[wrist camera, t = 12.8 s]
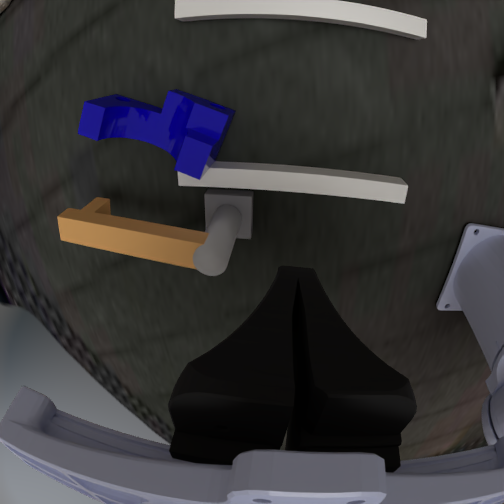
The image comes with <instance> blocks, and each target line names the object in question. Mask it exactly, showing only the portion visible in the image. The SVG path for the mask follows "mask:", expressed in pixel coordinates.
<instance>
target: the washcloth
mask: <svg viewBox="0 0 504 504" xmlns="http://www.w3.org/2000/svg"><path fill="white" fill-rule="evenodd" d="M11 1H12V0H0V13H1V12H2V11H3V10H4V9H6V8H7V6H8V5H9V4H10V2H11Z"/></svg>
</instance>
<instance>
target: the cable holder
mask: <svg viewBox="0 0 504 504" xmlns="http://www.w3.org/2000/svg"><path fill="white" fill-rule="evenodd" d="M234 114H235V110H232V109H230V108H227V107H225V106H222V105H219V104H217V103H214V102H211V101H208V100H206V99H203V98H200V97H197V96H194V95H192V94H189V93H186V92H183V91H180V90H177V89H175V90H170V91H168V94H167V97H166V100H165V103H164V106H163V109H161V108H159V107H156V106H153V105H150V104H146V103H143V102H140V101H137V100H134V99H131V98H128V97H124V96H121V95H118V94H115V95H110V96H106V97H101V98H97V99H93V100H89V101H85V102H84V106H83V111H82V115H81V120H80V124H79V129H78V134H80V135H83V136H85V137H88V138H91V139H94V140H97V141H98V140H101V139H105V138H113V137H122V138H131V139H137V140H141V141H145V142H148V143H151V144H154V145H156V146H158V147H160V148H162V149H164V150H166V151H167V152H168V153H170V154H171V155H172V156H173V157H174V158H175V160H176V162H177V163H176V166H175V169H174V170H176V171H178V172H181V173H183V174H186V175H188V176H191V177H193V178H196V179H198V180H200V179H201V178H202V177H203V176H204V174H205V173H206V172H207V171H208V169H209V168H210V167H211V166H212V164H213V163H214V162H215V161H216V158H217V156H218V153H219V151H220V148H221V146H222V143H223V141H224V138H225V136H226V133H227V131H228V128H229V126H230V123H231V121H232V119H233V116H234Z"/></svg>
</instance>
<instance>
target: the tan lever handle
mask: <svg viewBox="0 0 504 504" xmlns="http://www.w3.org/2000/svg"><path fill="white" fill-rule="evenodd" d="M57 218H58V225H59V231H60V237H61V240H63V241H68V242H72V243H76V244H81V245H85V246H90V247H94V248H98V249H103V250H108V251H112V252H117V253H121V254H126V255H131V256H135V257H140V258H145V259H149V260H154V261H159V262H164V263H169V264H173V265H178V266H183V267H188V268H193V269H197V270H198V271H200V272H201V273H203V274H205V275H209V276H216V275H220V274H221V273H223V272H224V271H225V270H226V268H227V265H228V261H229V258H230V255H231V252H232V249H233V246H234V243H235V239H236V236H237V233H238V230H239V227H240V224H241V220H242V217H241V213H240V212H239V210H238V209H237V208H235V207H234V206H231V205H222V206H220V207H218V208H217V209H216V211H215V213H214V215H213V217H212V218H211V220H210V222H209V224H208V226H207V228H206V230H205V232H201V231H196V230H190V229H185V228H179V227H174V226H168V225H162V224H157V223H151V222H146V221H140V220H135V219H129V218H123V217H118V216H112V215H111V212H110V199H107V198H100V197H96V198H95V199H94V200H93V201H91V202H90V203H89V204H88V205H86V206H85V207H84V208H83V209H81V210H78V209H72V208H67V209H66V210H65V211H64V212H62V213H61V214H60V215H59V216H57Z"/></svg>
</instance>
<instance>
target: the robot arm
mask: <svg viewBox="0 0 504 504" xmlns="http://www.w3.org/2000/svg"><path fill="white" fill-rule="evenodd" d="M476 229H477V231H476V232H475V233H474V231H475V230H476ZM447 304H448V305H447ZM445 305H446V306H445ZM436 306H437V309H438V310H449V311H463V312H464V314H465V316H466V318H467V320H468V322H469V324H470V326H471V328H472V330H473V332H474V334H475V336H476V338H477V341H478V343H479V345H480V347H481V349H482V351H483V354H484V356H485V358H486V360H487V363H488V365H489V367H490V370H491V372H492V373H491V375H490V376H489V378H488V379H487V380H486V384H487V387H488V389H489V392H490V394H489V395H488V396H487V397H486V399H485V401H484V403H483V406H482V426H483V432H484V435H485V438H486V441H487V443H488V445H489V446H486V447H482V448H477V449H473V450H468V451H463V452H458V453H453V454H447V455H442V456H435V457H429V458H421V459H413V460H404V461H400V455H399V447H398V446H400V445H401V442H402V440H401V432H402V430H403V429H404V428H405V427H406V426H407V424H408V423H409V422H410V421H411V420H412V418H413V417H414V415H415V413H416V409H417V405H416V401H415V396H414V393H413V390H412V387H411V385H410V382H409V379H408V378H406V377H405V376H403V375H402V374H400V373H399V372H397V371H396V370H394V369H393V368H391V367H390V366H389V365H387V364H386V363H385V362H383V361H382V360H381V359H380V358H379V357H377V356H376V355H375V354H374V353H373V352H372V351H370V350H369V349H368V348H367V347H366V346H365V345H364V344H363V343H362V342H361V341H360V340H359V339H358V338H357V337H356V336H355V335H354V333H353V332H352V331H351V330H350V329H349V327H348V326H347V325H346V323H345V322H344V321H343V319H342V318H341V317H340V315H339V314H338V312H337V311H336V309H335V308H334V306H333V305H332V303H331V301H330V300H329V298H328V296H327V295H326V293H325V291H324V289H323V287H322V285H321V283H320V281H319V279H318V277H317V275H316V273H315V271H314V270H313V269H311V268H301V267H291V266H280V267H279V268H278V272H277V275H276V278H275V280H274V282H273V284H272V285H271V287H270V289H269V290H268V292H267V294H266V295H265V297H264V298H263V300H262V301H261V302H260V304H259V305H258V306H257V308H256V309H255V310H254V312H253V313H252V314H251V315H250V316H249V317H248V318H247V319H246V321H245V322H244V323H243V324H242V325H241V326H240V327H239V328H237V329H236V330H235V331H234V332H233V333H232V334H231V335H230V336H229V337H227V338H226V339H225V340H223V341H222V342H221V343H219V344H218V345H217V346H215V347H214V348H213V349H211V350H210V351H208V352H207V353H205V354H203V355H201V356H200V357H198V358H196V359H195V360H193V361H191V362H189V363H188V364H187V366H186V367H185V369H184V370H183V372H182V373H181V375H180V377H179V379H178V381H177V383H176V384H175V387H174V389H173V392H172V395H171V398H170V401H169V404H168V407H169V412H170V415H171V418H172V421H173V424H174V427H175V432H174V435H173V439H172V442H171V445H166V444H162V443H158V442H154V441H150V440H146V439H143V438H139V437H135V436H132V435H128V434H125V433H122V432H118V431H115V430H112V429H109V428H106V427H103V426H100V425H97V424H94V423H92V422H89V421H86V420H83V419H81V418H78V417H75V416H72V415H70V414H68V413H65V412H63V411H60V410H58V409H56V407H55V405H54V403H53V402H52V401H51V400H50V399H49V398H48V397H47V396H45V395H43V394H41V393H39V392H37V391H35V390H32V389H30V388H28V387H26V386H22V387H21V388H20V390H19V392H18V394H17V395H16V397H15V398H14V400H13V402H12V403H11V405H10V407H9V409H8V410H7V412H6V414H5V416H4V417H3V419H2V421H1V423H0V442H1V443H3V445H5V446H6V447H7V448H8V449H9V450H10V451H12V453H14V454H15V455H16V456H17V457H19V458H20V459H21V460H22V461H23V462H24V463H26V464H27V465H28V466H30V467H32V468H34V469H36V470H37V471H39V472H41V473H43V474H44V475H46V476H48V477H50V478H52V479H54V480H56V481H58V482H60V483H62V484H64V485H66V486H67V487H69V488H71V489H74V490H76V491H78V492H80V493H82V494H84V495H86V496H88V497H91V498H93V499H95V500H98V501H100V502H102V503H104V504H501V503H503V502H504V228H498V227H492V226H486V225H480V224H473V223H469V224H467V225H466V227H465V229H464V232H463V235H462V238H461V241H460V244H459V247H458V250H457V253H456V255H455V258H454V261H453V264H452V266H451V269H450V272H449V274H448V277H447V279H446V282H445V284H444V287H443V289H442V292H441V294H440V296H439V299H438V301H437V304H436ZM287 427H288V429H287ZM286 430H287V438H286V447H285V450H280V447H281V446H282V443H283V440H284V437H285V434H286Z"/></svg>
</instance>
